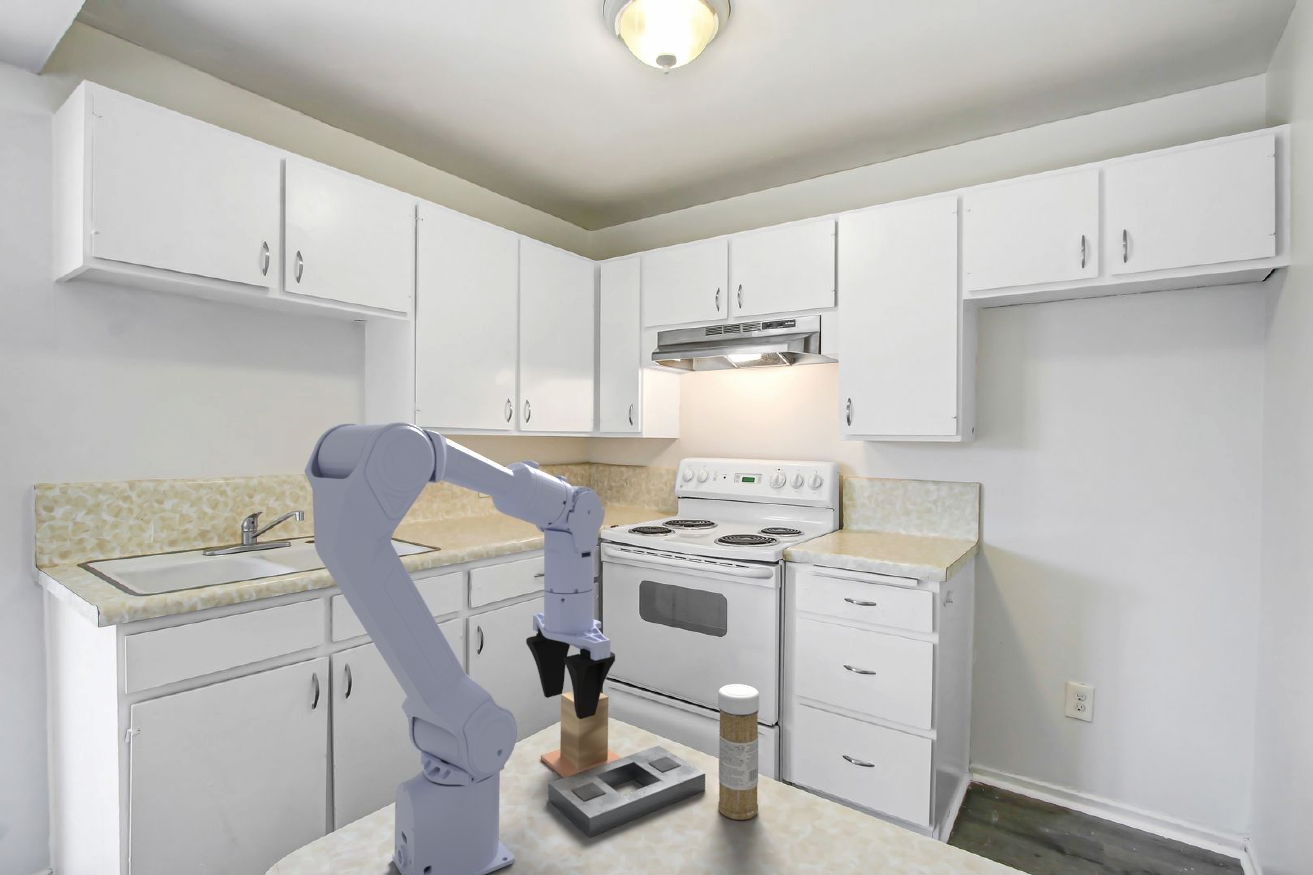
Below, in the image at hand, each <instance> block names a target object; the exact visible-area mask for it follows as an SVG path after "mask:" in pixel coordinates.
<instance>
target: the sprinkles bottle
mask: <svg viewBox="0 0 1313 875" xmlns="http://www.w3.org/2000/svg"><path fill="white" fill-rule="evenodd" d="M717 695H718V696H717V699H718V700H717V705H718V709H719V731H718V732H719V741H718V742H719V744H718V745H719V746H718V748H719V749H718V784H719V785H718V786H719V787H718V789H719V791H718V792H719V793H718V795H719V796H718V798H719V799H718V804H717V807H718V810H719V811H720V813H721V814H722V815H724V816H725V817H727V818H730V819H731V820H742V821H743V820H748V819H752V818H754V817H755V816H756V815H757V814H758V811H759V804H758V783H759V732H758V729H759V727H758V725H759V722H758V720H759V719H758V717H759V716H758V714H759V711H760V710H759V709H760V693H759V691H758V690H757V689H756V688H755V687H754V686H751V685H747V684H742V683H732V684H726V685H723V686H722V687H720V688H719V689H718V694H717Z"/></svg>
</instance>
